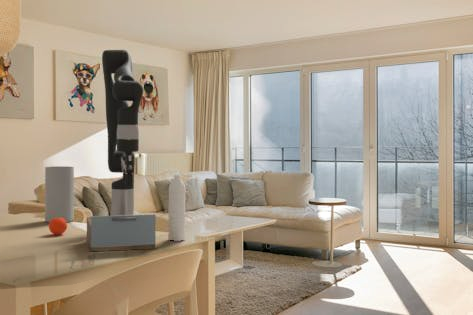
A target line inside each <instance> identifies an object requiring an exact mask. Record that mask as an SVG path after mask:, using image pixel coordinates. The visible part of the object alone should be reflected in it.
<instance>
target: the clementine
mask: <svg viewBox="0 0 473 315" xmlns="http://www.w3.org/2000/svg"><path fill="white" fill-rule="evenodd" d="M48 229H49V231H50V233H52V234H53V235H56V236H60V235H63V234H64V233H65V232H66V231H67V229H68V222H66V221H65V220H64V219H63V218H60V217H56V218H53V219H52V220H51V221H50V223H49V222H48Z"/></svg>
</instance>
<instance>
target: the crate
mask: <svg viewBox="0 0 473 315" xmlns="http://www.w3.org/2000/svg"><path fill="white" fill-rule="evenodd" d="M86 243H88V244H87V245H88V246H89V247H88V249H90V250H89V252H90V253H93V252H92V251H100V252H105V251H104V250H120V251H132V250H131V249H140V250H154V249H156V243H155V244H151V245H130V246H109V247H91V216H90V217H86Z"/></svg>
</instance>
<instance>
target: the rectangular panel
mask: <svg viewBox="0 0 473 315" xmlns="http://www.w3.org/2000/svg"><path fill="white" fill-rule="evenodd" d="M156 216H157V215H156V214H155V213H154V214H153V213H151V214H134V215H116V216H111V215H94V216H93V215H91V216H90V217H91V247H109V246H130V245H151V244H155V245H156V226H157V225H156V222H157V221H156Z"/></svg>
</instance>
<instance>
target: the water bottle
mask: <svg viewBox="0 0 473 315" xmlns="http://www.w3.org/2000/svg"><path fill="white" fill-rule="evenodd" d="M184 176H185V178H192V173H191V174H190V173H186V174H184ZM181 178H182V177H181V174H174V175H173V179H172V181H171V182H170V183H169V186H168V209H167V210H168V223H167V224H168V225H167V226H168V228H167V229H168V230H167V232H168V235H167V239H169V240H168V241H170V240H174V241H173V242H182V241H181V240H184V241H185V240H186V216H187V215H186V194H187V193H186V191H187V190H186V189H187V188H186V185H185V183H184V181H183V180H182V179H181Z"/></svg>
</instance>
